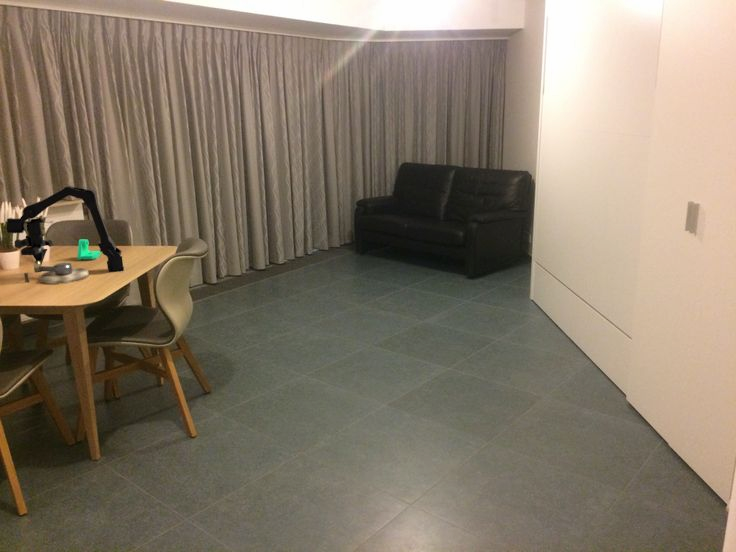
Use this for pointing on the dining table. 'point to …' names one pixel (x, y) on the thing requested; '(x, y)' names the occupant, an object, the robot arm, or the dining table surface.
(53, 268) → the knob
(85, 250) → the camera mount
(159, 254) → the dining table surface
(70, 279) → the leveling base
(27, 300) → the dining table surface
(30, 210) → the robot arm
